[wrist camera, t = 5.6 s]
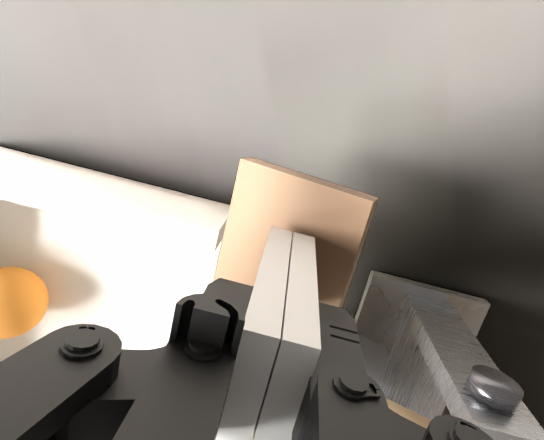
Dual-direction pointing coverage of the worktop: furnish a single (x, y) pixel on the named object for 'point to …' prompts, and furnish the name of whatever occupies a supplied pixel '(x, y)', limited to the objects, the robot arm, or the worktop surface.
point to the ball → (20, 301)
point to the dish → (105, 247)
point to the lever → (298, 230)
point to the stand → (438, 357)
